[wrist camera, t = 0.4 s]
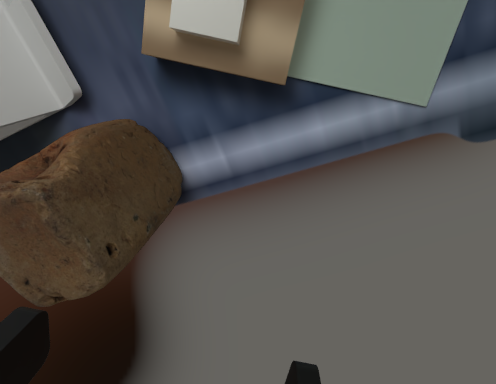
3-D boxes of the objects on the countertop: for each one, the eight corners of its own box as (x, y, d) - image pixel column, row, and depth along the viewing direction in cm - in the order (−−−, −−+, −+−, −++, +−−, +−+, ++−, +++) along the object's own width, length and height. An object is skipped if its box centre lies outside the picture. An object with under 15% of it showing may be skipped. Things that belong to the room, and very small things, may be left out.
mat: (325, -98, 27) (325, -101, 27) (489, -61, 27) (492, -62, 27) (285, 75, 32) (285, 75, 32) (424, 106, 32) (426, 106, 32)
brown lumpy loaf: (194, 189, 37) (121, 295, 18) (144, 213, 38) (27, 333, 19) (148, 107, 34) (2, 131, 15) (95, 136, 35) (-99, 191, 17)
